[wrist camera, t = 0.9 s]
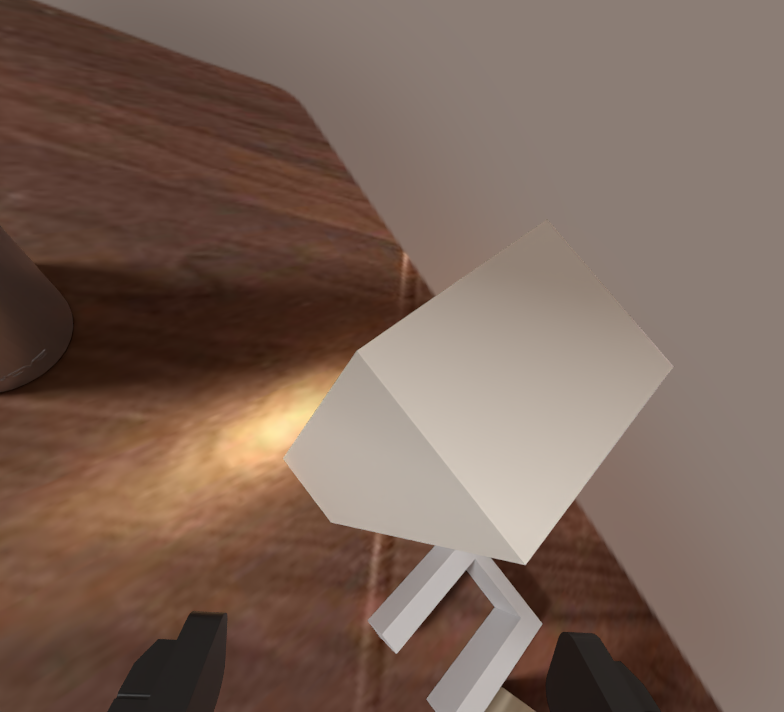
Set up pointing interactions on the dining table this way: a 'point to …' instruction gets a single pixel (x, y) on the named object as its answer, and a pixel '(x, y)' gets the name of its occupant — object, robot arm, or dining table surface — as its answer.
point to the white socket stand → (479, 437)
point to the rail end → (507, 703)
